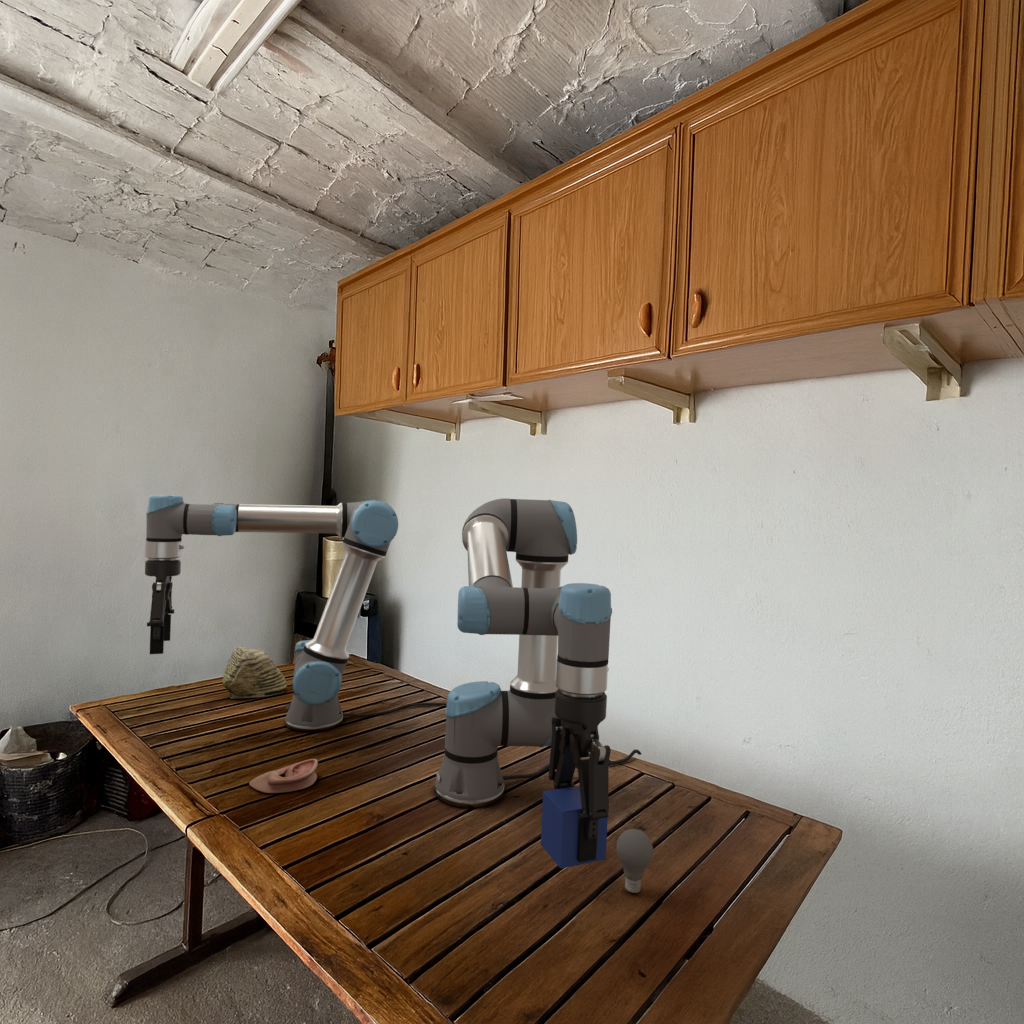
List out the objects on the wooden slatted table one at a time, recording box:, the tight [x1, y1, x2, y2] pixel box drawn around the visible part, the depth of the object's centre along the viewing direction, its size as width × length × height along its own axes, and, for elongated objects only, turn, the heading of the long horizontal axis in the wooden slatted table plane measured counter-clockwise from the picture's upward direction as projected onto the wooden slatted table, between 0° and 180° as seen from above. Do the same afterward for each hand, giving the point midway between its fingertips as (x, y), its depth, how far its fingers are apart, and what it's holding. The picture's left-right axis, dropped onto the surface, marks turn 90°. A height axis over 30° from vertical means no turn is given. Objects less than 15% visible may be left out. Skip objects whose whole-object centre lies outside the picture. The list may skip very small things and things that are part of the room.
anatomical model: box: [248, 758, 319, 794], centre depth 139 cm, size 13×4×12 cm
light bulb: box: [615, 828, 654, 894], centre depth 106 cm, size 6×6×10 cm
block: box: [540, 785, 609, 869], centre depth 93 cm, size 7×7×8 cm
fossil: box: [222, 646, 288, 699], centre depth 198 cm, size 9×18×15 cm, turn 132°
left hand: (160, 647), depth 152 cm, fingers open, 13 cm apart
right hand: (574, 845), depth 93 cm, fingers closed on block, 7 cm apart
